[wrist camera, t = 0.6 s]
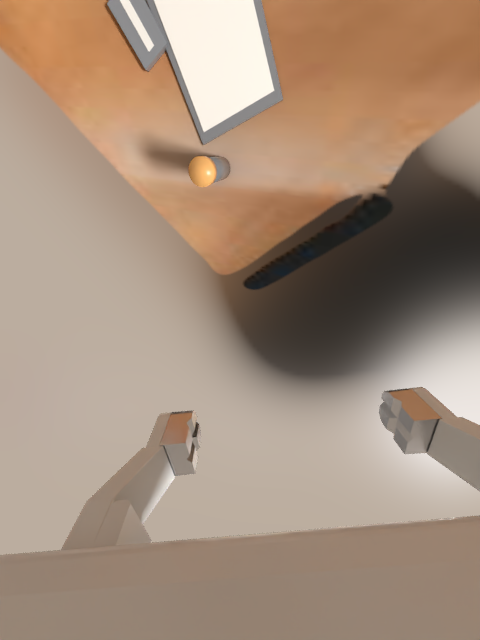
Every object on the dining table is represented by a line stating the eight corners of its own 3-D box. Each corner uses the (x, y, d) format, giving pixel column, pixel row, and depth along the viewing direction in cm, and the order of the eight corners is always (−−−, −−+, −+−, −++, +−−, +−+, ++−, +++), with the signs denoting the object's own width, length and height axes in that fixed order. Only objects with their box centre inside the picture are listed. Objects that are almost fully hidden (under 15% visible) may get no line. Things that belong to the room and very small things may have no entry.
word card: (111, 7, 34) (106, 3, 33) (132, -26, 32) (127, -32, 31) (148, 71, 37) (145, 69, 36) (169, 45, 35) (166, 42, 34)
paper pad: (143, -10, 32) (141, -13, 32) (239, -101, 27) (237, -106, 27) (204, 144, 42) (202, 144, 41) (283, 99, 37) (283, 98, 36)
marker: (208, 161, 43) (183, 163, 33) (225, 152, 42) (206, 151, 31) (216, 183, 45) (196, 191, 35) (233, 174, 44) (217, 180, 33)
